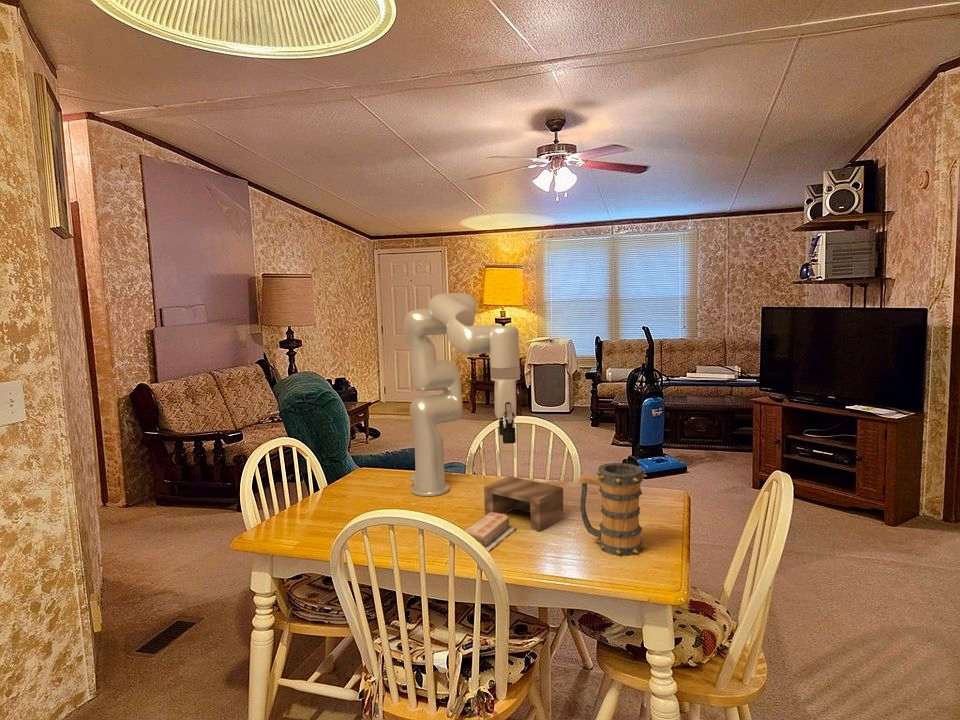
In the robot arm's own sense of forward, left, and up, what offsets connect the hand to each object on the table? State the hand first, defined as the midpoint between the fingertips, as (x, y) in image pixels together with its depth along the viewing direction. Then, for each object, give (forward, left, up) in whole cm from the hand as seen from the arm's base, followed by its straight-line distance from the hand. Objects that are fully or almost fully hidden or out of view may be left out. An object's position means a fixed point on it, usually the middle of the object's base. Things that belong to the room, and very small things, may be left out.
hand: (507, 438), depth 153 cm
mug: (+25, +9, -26) cm, 37 cm away
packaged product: (-4, -6, -27) cm, 28 cm away
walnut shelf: (-4, +12, -26) cm, 29 cm away
